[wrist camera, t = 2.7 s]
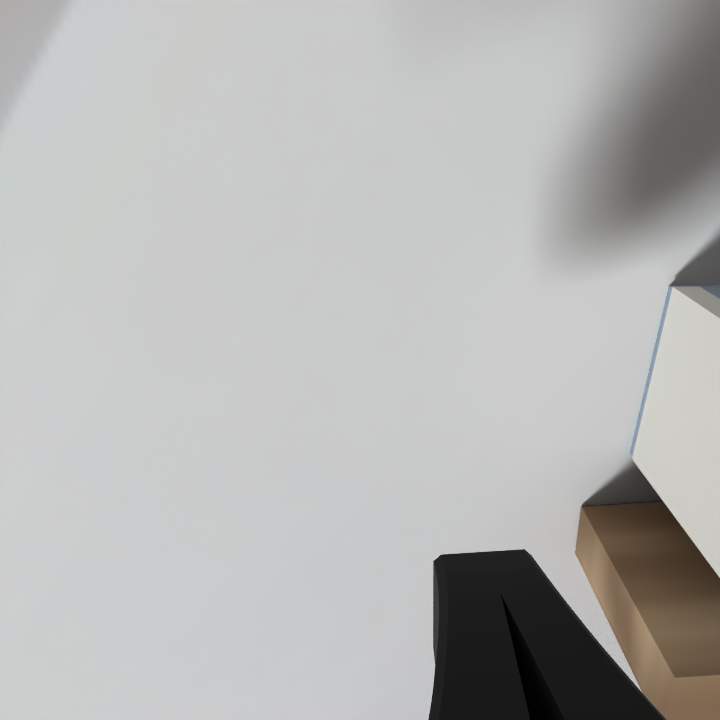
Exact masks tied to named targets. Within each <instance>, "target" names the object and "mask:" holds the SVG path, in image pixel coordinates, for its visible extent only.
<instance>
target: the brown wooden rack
mask: <svg viewBox="0 0 720 720" xmlns="http://www.w3.org/2000/svg"><path fill="white" fill-rule="evenodd" d="M575 554H576V556H577V558H578V560H579V562H580V564H581V566H582V568H583V570H584V572H585V574H586V576H587V578H588V581H589V583H590V585H591V587H592V589H593V591H594V593H595V595H596V597H597V599H598V601H599V603H600V605H601V608H602V610H603V612H604V614H605V616H606V618H607V620H608V622H609V624H610V626H611V628H612V630H613V632H614V634H615V637H616V639H617V641H618V643H619V645H620V647H621V649H622V651H623V653H624V655H625V657H626V659H627V661H628V664H629V666H630V668H631V670H632V672H633V674H634V676H635V678H636V680H637V682H638V684H639V686H640V688H641V691H642V693H643V694H644V695H645V697H646V698H647V699H648V700H649V701H650V702H651V703H652V704H653V705H654V707H655V708H656V709H657V710H658V711H659V712H660V713H661V714H662V715H663V716H664V718H665V719H666V720H720V578H719V576H718V575H717V573H716V572H715V571H714V569H713V568H712V567H711V565H710V564H709V563H708V561H707V560H706V559H705V557H704V556H703V555H702V553H701V552H700V550H699V549H698V548H697V546H696V545H695V544H694V542H693V541H692V540H691V538H690V537H689V536H688V534H687V533H686V531H685V530H684V529H683V527H682V526H681V525H680V523H679V522H678V521H677V519H676V518H675V517H674V515H673V514H672V513H671V511H670V510H669V508H668V507H667V506H666V504H665V503H664V502H647V503H631V504H615V505H598V506H582V507H581V513H580V521H579V528H578V536H577V543H576V551H575Z"/></svg>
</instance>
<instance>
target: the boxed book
mask: <svg viewBox="0 0 720 720" xmlns="http://www.w3.org/2000/svg"><path fill="white" fill-rule="evenodd" d="M630 452H631V454H632V455H633V457H632V460H633V461H634V462H635V464H636V465H637V467H638V468H639V469H640V471H641V472H642V473H643V475H644V476H645V477H646V479H647V480H648V481H649V483H650V484H651V485H652V487H653V488H654V490H655V491H656V492H657V494H658V495H659V496H660V498H661V499H662V500H663V502H664V503H665V504H666V506H667V507H668V508H669V510H670V511H671V513H672V514H673V515H674V517H675V518H676V519H677V521H678V522H679V523H680V525H681V526H682V527H683V529H684V530H685V531H686V533H687V534H688V536H689V537H690V538H691V540H692V541H693V542H694V544H695V545H696V546H697V548H698V549H699V550H700V552H701V553H702V555H703V556H704V557H705V559H706V560H707V561H708V563H709V564H710V565H711V567H712V568H713V569H714V571H715V572H716V573H717V575H718V576H719V578H720V285H669V288H668V292H667V296H666V300H665V305H664V309H663V313H662V318H661V322H660V326H659V330H658V335H657V339H656V343H655V348H654V352H653V356H652V360H651V365H650V369H649V373H648V378H647V382H646V386H645V390H644V395H643V399H642V403H641V408H640V412H639V416H638V420H637V425H636V429H635V433H634V438H633V442H632V446H631V450H630Z"/></svg>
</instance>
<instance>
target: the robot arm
mask: <svg viewBox="0 0 720 720" xmlns="http://www.w3.org/2000/svg"><path fill="white" fill-rule="evenodd" d="M433 648H434V657H435V676H434V687H433V695H432V702H431V708H430V714H429V720H666V719H665V718H664V716H663V715H662V714H661V713H660V712H659V711H658V710H657V709H656V708H655V707H654V705H653V704H652V703H651V702H650V701H649V700H648V699H647V698H646V697H645V695H644V694H643V693H642V692H641V691H640V690H639V689H638V688H637V686H636V685H635V684H634V683H633V682H632V681H631V680H630V678H629V677H628V676H627V675H626V674H625V673H624V671H623V670H622V669H621V668H620V667H619V666H618V664H617V663H616V662H615V661H614V660H613V659H612V657H611V656H610V655H609V654H608V653H607V652H606V651H605V649H604V648H603V647H602V646H601V645H600V643H599V642H598V641H597V640H596V639H595V637H594V636H593V635H592V634H591V633H590V631H589V630H588V629H587V628H586V626H585V625H584V624H583V623H582V621H581V620H580V619H579V618H578V616H577V615H576V614H575V613H574V611H573V610H572V609H571V608H570V606H569V605H568V604H567V602H566V601H565V600H564V599H563V597H562V596H561V595H560V593H559V592H558V591H557V589H556V588H555V587H554V586H553V584H552V583H551V582H550V580H549V579H548V578H547V576H546V575H545V573H544V572H543V571H542V569H541V568H540V567H539V565H538V564H537V563H536V561H535V560H534V558H533V557H532V556H531V555H530V554H529V553H528V552H527V551H526V550H525V549H523V550H507V551H491V552H476V553H460V554H444V555H440V556H439V557H438V558H437V559H436V560H434V575H433Z"/></svg>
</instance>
